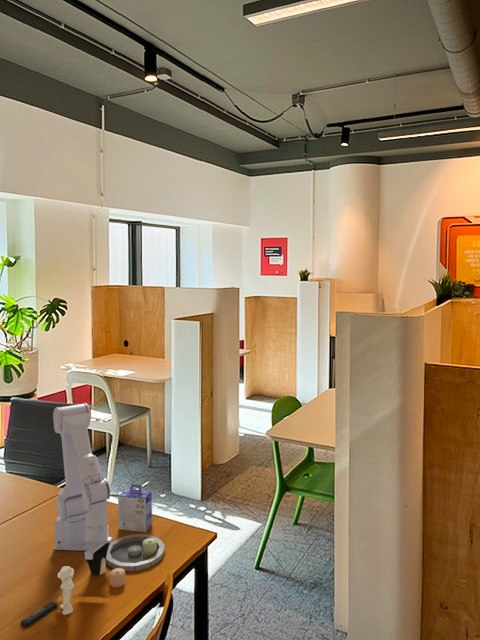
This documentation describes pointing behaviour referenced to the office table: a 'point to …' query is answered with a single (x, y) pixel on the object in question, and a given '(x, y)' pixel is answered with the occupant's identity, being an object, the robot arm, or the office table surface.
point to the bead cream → (103, 566)
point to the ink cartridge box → (135, 509)
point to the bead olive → (149, 547)
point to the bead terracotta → (117, 577)
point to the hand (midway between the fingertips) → (98, 569)
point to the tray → (132, 553)
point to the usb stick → (39, 614)
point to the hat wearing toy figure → (66, 588)
